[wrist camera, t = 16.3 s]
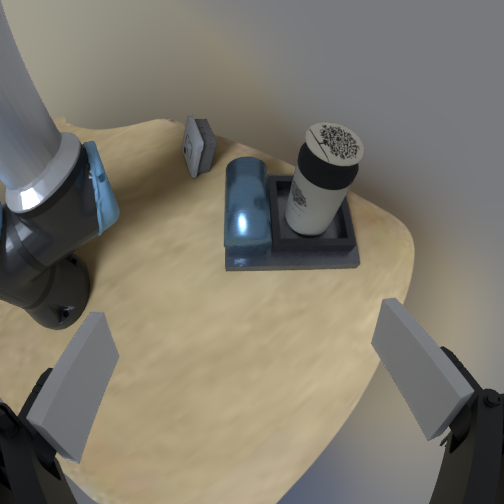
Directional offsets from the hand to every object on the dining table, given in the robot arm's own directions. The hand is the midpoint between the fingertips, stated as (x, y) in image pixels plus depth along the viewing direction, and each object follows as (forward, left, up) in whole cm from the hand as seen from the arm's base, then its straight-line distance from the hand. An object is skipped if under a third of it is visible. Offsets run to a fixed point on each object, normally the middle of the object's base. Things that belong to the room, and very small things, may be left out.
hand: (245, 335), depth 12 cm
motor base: (+8, +22, -29) cm, 38 cm away
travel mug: (+11, +22, -28) cm, 37 cm away
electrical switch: (-9, +37, -30) cm, 49 cm away
